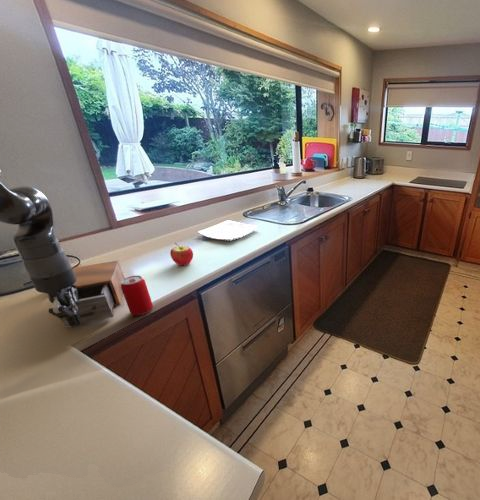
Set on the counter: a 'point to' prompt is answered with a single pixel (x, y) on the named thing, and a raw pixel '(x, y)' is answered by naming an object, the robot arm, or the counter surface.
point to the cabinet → (101, 277)
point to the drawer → (94, 303)
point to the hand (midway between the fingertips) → (76, 324)
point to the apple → (181, 255)
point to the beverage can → (136, 295)
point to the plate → (228, 230)
